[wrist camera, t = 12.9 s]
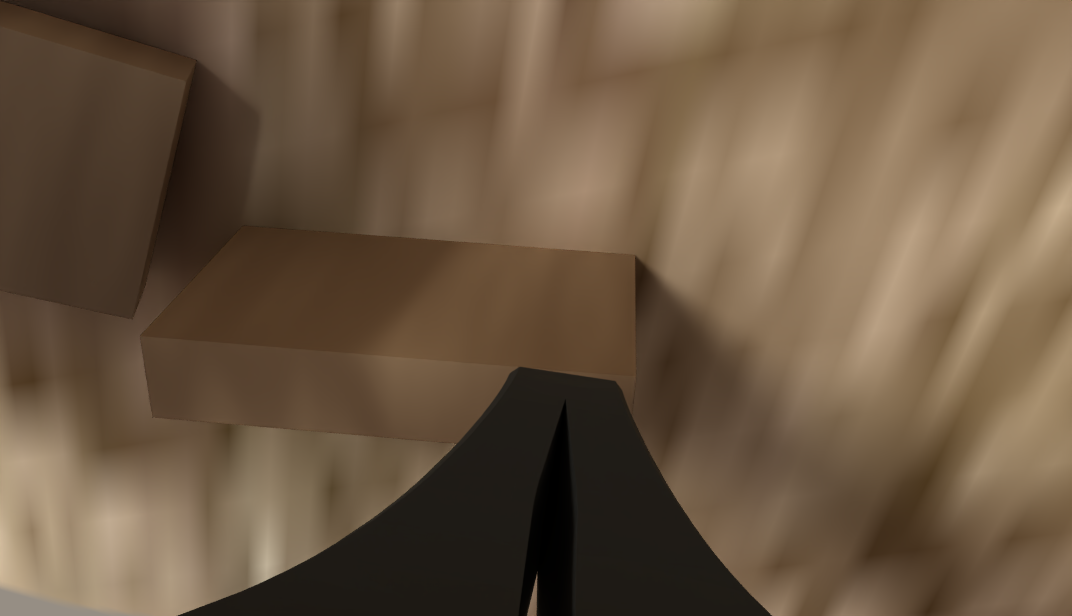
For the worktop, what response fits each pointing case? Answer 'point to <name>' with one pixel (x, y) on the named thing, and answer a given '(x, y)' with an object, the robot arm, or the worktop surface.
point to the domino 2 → (382, 331)
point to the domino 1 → (83, 159)
